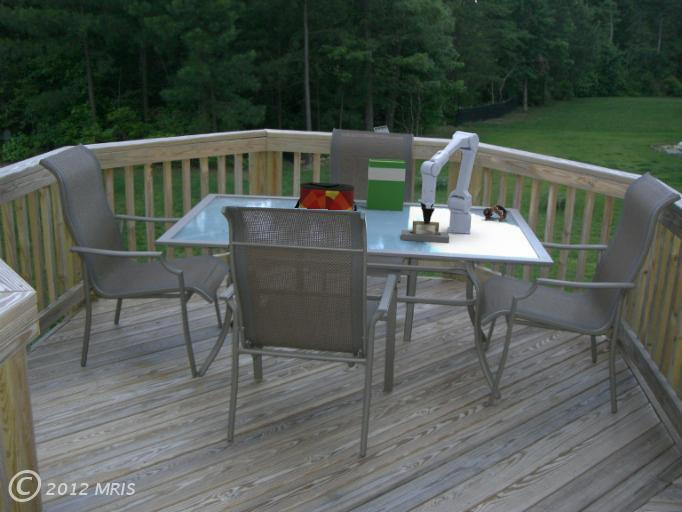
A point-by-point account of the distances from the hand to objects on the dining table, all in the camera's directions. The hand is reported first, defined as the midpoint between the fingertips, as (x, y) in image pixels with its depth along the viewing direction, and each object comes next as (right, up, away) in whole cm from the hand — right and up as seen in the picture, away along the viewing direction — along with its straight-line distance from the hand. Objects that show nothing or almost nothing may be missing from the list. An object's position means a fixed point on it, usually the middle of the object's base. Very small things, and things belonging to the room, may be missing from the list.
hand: (426, 221), depth 315 cm
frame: (0, -7, +2) cm, 7 cm away
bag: (-44, +3, +31) cm, 54 cm away
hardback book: (-15, +9, +54) cm, 56 cm away
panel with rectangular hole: (0, -7, +2) cm, 8 cm away
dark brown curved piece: (+37, +3, +42) cm, 56 cm away
